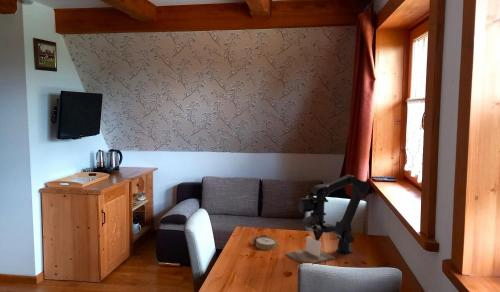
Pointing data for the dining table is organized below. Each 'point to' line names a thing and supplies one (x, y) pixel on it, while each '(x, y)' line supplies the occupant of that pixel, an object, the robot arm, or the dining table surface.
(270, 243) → the alarm clock
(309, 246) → the tile
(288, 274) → the dining table surface
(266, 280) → the dining table surface
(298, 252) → the board
